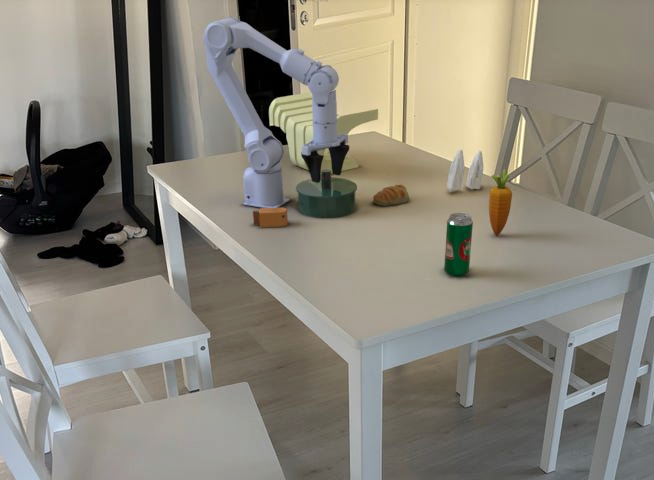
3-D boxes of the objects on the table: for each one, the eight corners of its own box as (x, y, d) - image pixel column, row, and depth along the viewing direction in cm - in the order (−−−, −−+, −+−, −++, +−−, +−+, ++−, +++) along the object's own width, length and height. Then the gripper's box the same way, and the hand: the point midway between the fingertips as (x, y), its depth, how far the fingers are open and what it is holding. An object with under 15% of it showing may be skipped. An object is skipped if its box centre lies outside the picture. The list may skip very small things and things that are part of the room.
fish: (253, 228, 175) (252, 213, 173) (254, 222, 178) (253, 208, 176) (287, 226, 175) (286, 212, 173) (287, 221, 178) (286, 207, 176)
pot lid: (340, 204, 175) (340, 183, 173) (284, 196, 181) (283, 175, 178) (367, 186, 187) (367, 166, 184) (313, 178, 193) (313, 159, 190)
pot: (340, 221, 178) (339, 201, 176) (288, 212, 183) (287, 193, 181) (364, 203, 189) (364, 184, 187) (315, 195, 194) (314, 177, 192)
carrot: (494, 241, 166) (500, 175, 159) (481, 234, 170) (486, 169, 162) (512, 237, 168) (519, 172, 161) (498, 230, 172) (505, 166, 164)
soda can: (441, 267, 154) (445, 212, 148) (465, 266, 155) (470, 211, 148) (446, 278, 150) (450, 221, 144) (471, 277, 150) (475, 220, 144)
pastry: (383, 209, 185) (383, 194, 183) (366, 202, 190) (366, 188, 188) (411, 201, 190) (411, 186, 188) (394, 195, 195) (394, 180, 193)
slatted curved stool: (272, 160, 222) (268, 99, 213) (314, 151, 231) (312, 91, 222) (332, 184, 202) (331, 117, 193) (377, 173, 211) (378, 108, 202)
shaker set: (450, 196, 193) (453, 154, 187) (440, 192, 196) (443, 150, 190) (485, 188, 198) (489, 147, 193) (475, 184, 201) (478, 143, 196)
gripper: (316, 130, 168) (318, 188, 175) (357, 118, 178) (357, 174, 185) (294, 125, 172) (297, 182, 179) (335, 114, 182) (336, 169, 189)
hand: (326, 178), depth 182 cm, fingers open, 7 cm apart
